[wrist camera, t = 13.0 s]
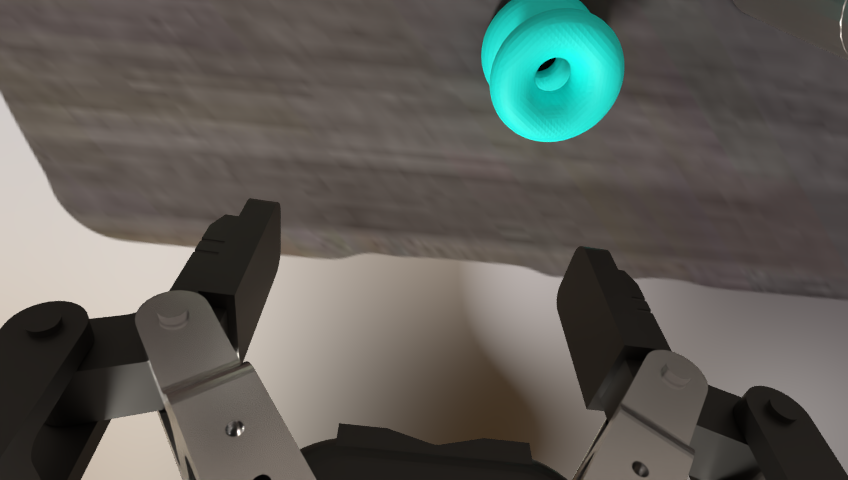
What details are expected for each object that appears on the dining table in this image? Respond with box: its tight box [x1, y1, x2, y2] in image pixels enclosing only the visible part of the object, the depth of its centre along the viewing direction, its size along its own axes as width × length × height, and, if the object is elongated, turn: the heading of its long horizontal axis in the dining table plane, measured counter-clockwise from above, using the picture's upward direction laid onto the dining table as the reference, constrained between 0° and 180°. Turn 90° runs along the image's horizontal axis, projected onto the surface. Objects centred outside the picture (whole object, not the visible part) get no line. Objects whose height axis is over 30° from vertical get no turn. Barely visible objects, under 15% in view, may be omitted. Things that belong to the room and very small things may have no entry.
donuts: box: [481, 0, 624, 142], centre depth 41 cm, size 10×10×10 cm
